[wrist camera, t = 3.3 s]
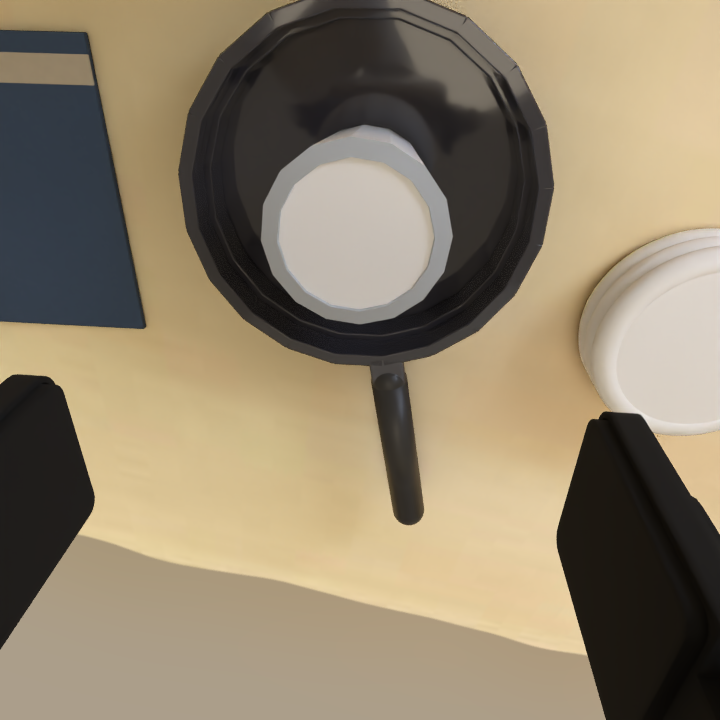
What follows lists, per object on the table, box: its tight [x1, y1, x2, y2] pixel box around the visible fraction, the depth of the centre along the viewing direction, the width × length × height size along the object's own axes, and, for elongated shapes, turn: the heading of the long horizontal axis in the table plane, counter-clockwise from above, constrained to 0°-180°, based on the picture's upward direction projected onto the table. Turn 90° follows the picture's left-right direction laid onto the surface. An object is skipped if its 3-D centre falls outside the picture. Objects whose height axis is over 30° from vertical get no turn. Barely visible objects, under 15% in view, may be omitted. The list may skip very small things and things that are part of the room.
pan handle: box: [370, 360, 424, 525], centre depth 30 cm, size 12×2×2 cm, turn 9°
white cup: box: [261, 125, 453, 324], centre depth 23 cm, size 7×7×7 cm
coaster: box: [578, 228, 720, 436], centre depth 27 cm, size 10×10×4 cm
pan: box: [178, 0, 554, 366], centre depth 24 cm, size 15×15×4 cm
